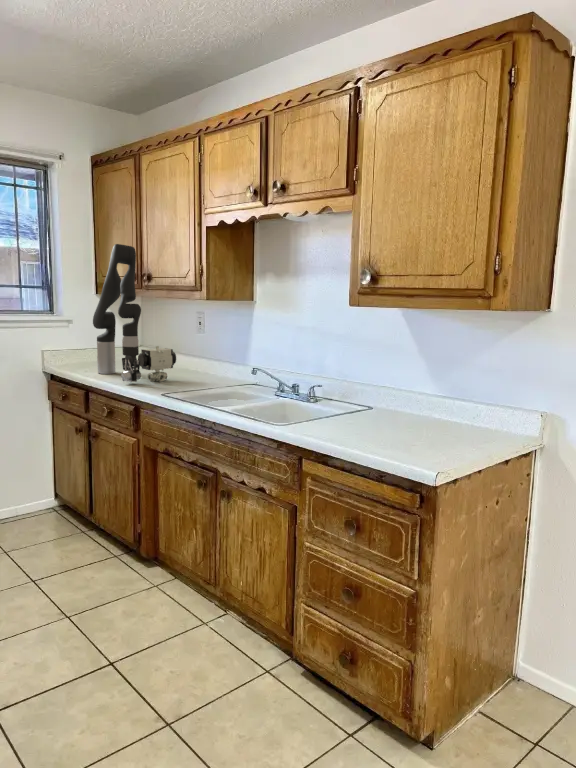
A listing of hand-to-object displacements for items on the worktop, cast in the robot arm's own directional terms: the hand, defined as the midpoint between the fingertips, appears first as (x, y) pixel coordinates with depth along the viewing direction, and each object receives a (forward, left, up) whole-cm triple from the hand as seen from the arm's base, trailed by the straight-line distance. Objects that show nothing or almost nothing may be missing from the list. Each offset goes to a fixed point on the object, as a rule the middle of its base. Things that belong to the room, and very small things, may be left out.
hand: (131, 379), depth 278 cm
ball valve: (0, +15, -2) cm, 15 cm away
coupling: (0, 0, -1) cm, 1 cm away
